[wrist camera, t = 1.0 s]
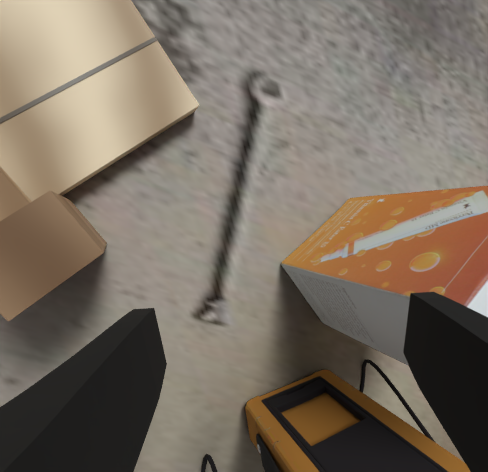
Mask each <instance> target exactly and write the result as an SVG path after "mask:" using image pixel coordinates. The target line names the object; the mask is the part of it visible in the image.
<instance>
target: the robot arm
mask: <svg viewBox="0 0 488 472" xmlns="http://www.w3.org/2000/svg"><path fill="white" fill-rule="evenodd" d="M403 353H404V355H405V358H406V360H407V362H408V364H409V367H410V369H411V371H412V373H413V376H414V378H415V380H416V382H417V384H418V386H419V388H420V390H421V391H422V393H423V395H424V397H425V398H426V400H427V401H428V403H429V405H430V406H431V408H432V410H433V411H434V413H435V415H436V416H437V418H438V420H439V421H440V423H441V424H442V426H443V428H444V429H445V431H446V432H447V434H448V436H449V437H450V439H451V441H452V442H453V444H454V445H455V447H456V449H457V450H458V452H459V453H460V455H461V457H462V458H463V460H464V462H465V463H466V465H467V466H468V468H469V470H470V471H471V472H488V317H486V316H484V315H482V314H480V313H478V312H476V311H474V310H472V309H470V308H468V307H466V306H464V305H462V304H460V303H458V302H456V301H454V300H452V299H449V298H447V297H445V296H443V295H440V294H438V293H435V292H420V293H410V301H409V309H408V318H407V326H406V334H405V342H404V350H403ZM166 365H167V363H166V359H165V354H164V350H163V346H162V341H161V337H160V332H159V328H158V323H157V319H156V314H155V310H154V308H148V309H133V310H132V311H130V312H129V313H128V314H126V315H125V316H123V317H122V318H121V319H119V320H118V321H117V322H116V323H114V324H113V325H112V326H110V327H109V328H108V329H107V330H105V331H104V332H103V333H102V334H100V335H99V336H98V337H97V338H95V339H94V340H93V341H91V342H90V343H89V344H88V345H86V346H85V347H84V348H83V349H81V350H80V351H79V352H77V353H76V354H75V355H74V356H72V357H71V358H70V359H68V360H67V361H65V362H64V363H63V364H61V365H60V366H59V367H57V368H56V369H55V370H53V371H52V372H50V373H49V374H48V375H46V376H45V377H44V378H42V379H41V380H39V381H38V382H37V383H35V384H34V385H33V386H31V387H30V388H28V389H27V390H25V391H24V392H22V393H21V394H20V395H18V396H17V397H15V398H14V399H12V400H11V401H9V402H8V403H6V404H5V405H3V406H1V407H0V472H133V471H134V469H135V466H136V463H137V460H138V457H139V454H140V452H141V449H142V446H143V443H144V440H145V438H146V435H147V432H148V429H149V426H150V423H151V421H152V418H153V415H154V412H155V409H156V406H157V403H158V400H159V397H160V392H161V388H162V384H163V379H164V374H165V369H166Z"/></svg>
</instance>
